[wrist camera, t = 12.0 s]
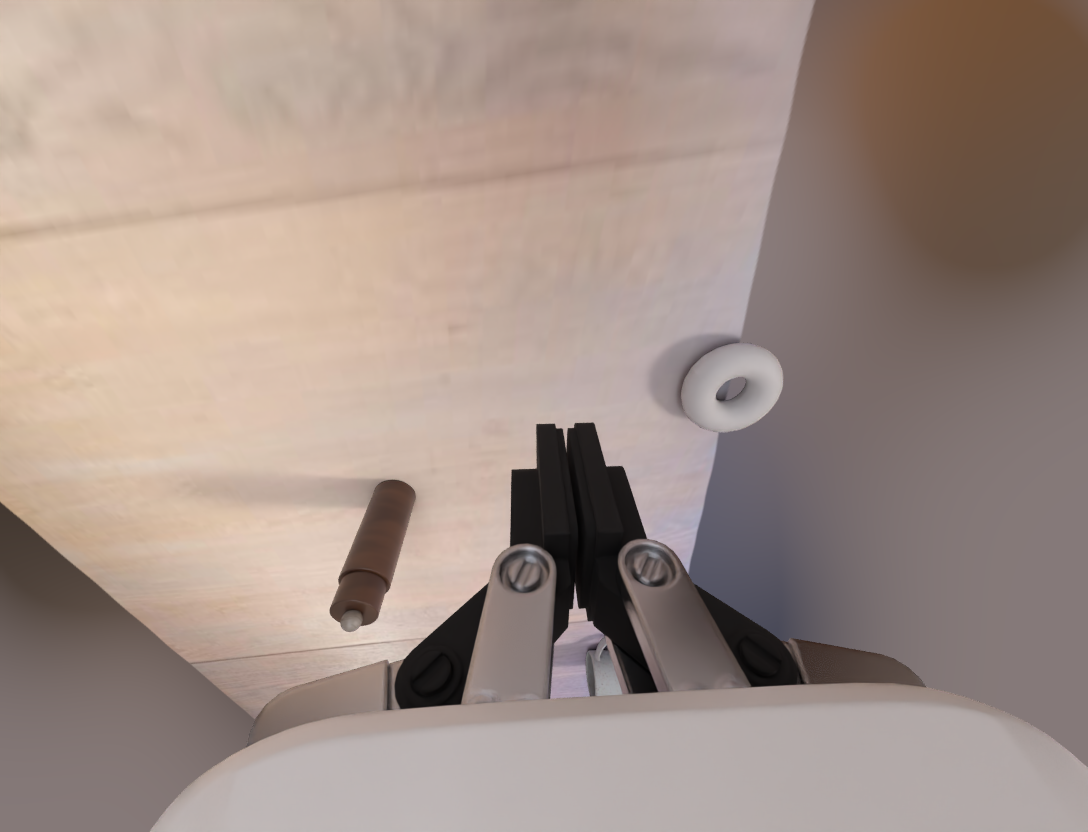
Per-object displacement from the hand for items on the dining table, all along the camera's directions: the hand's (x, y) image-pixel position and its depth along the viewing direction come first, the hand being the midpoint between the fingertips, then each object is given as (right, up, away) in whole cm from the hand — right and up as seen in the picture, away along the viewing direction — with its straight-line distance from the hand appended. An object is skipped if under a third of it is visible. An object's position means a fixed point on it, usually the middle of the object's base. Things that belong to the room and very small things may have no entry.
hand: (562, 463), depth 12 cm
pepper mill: (-19, -8, +37) cm, 42 cm away
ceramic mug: (+11, -40, +61) cm, 74 cm away
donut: (+18, +5, +31) cm, 36 cm away
